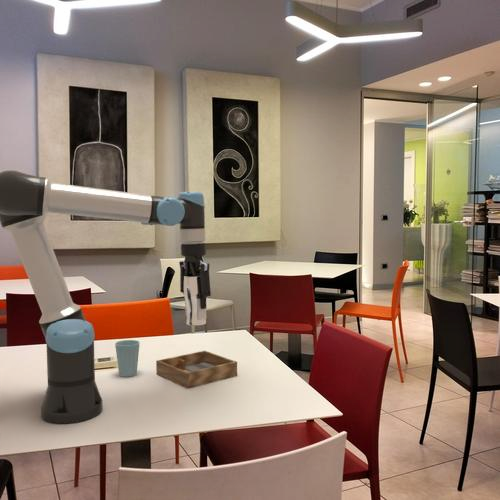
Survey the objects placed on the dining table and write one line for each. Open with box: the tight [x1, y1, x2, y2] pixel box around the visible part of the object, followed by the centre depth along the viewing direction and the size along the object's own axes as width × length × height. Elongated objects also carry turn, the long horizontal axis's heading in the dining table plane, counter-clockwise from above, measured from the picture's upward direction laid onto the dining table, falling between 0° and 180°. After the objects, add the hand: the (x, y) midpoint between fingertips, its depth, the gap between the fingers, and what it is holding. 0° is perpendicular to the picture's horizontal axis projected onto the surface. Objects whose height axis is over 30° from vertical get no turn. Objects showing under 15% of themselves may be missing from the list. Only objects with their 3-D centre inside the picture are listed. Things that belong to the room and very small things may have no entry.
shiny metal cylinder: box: [183, 275, 207, 327], centre depth 158 cm, size 7×7×15 cm
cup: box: [114, 339, 141, 378], centre depth 166 cm, size 8×8×10 cm
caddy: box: [155, 350, 238, 389], centre depth 166 cm, size 19×18×4 cm
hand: (196, 317), depth 159 cm, fingers closed on shiny metal cylinder, 6 cm apart
